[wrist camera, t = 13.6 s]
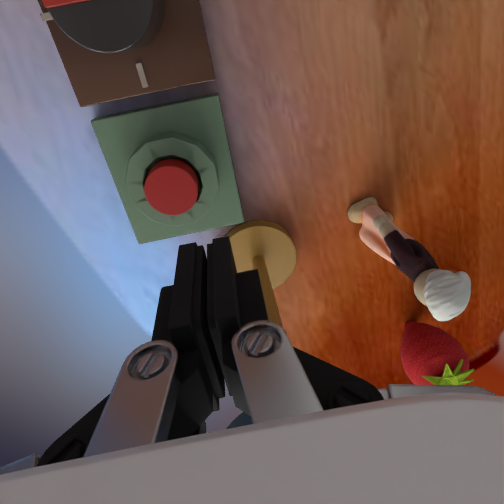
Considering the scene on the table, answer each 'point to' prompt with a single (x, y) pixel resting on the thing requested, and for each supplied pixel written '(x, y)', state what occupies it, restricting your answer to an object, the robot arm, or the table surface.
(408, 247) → the grandmother figurine
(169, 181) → the lamp switch
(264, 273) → the desk lamp
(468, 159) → the table surface
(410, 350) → the strawberry
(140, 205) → the switch base
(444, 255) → the table surface
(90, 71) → the dimmer panel
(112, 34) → the dimmer knob
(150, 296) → the table surface
